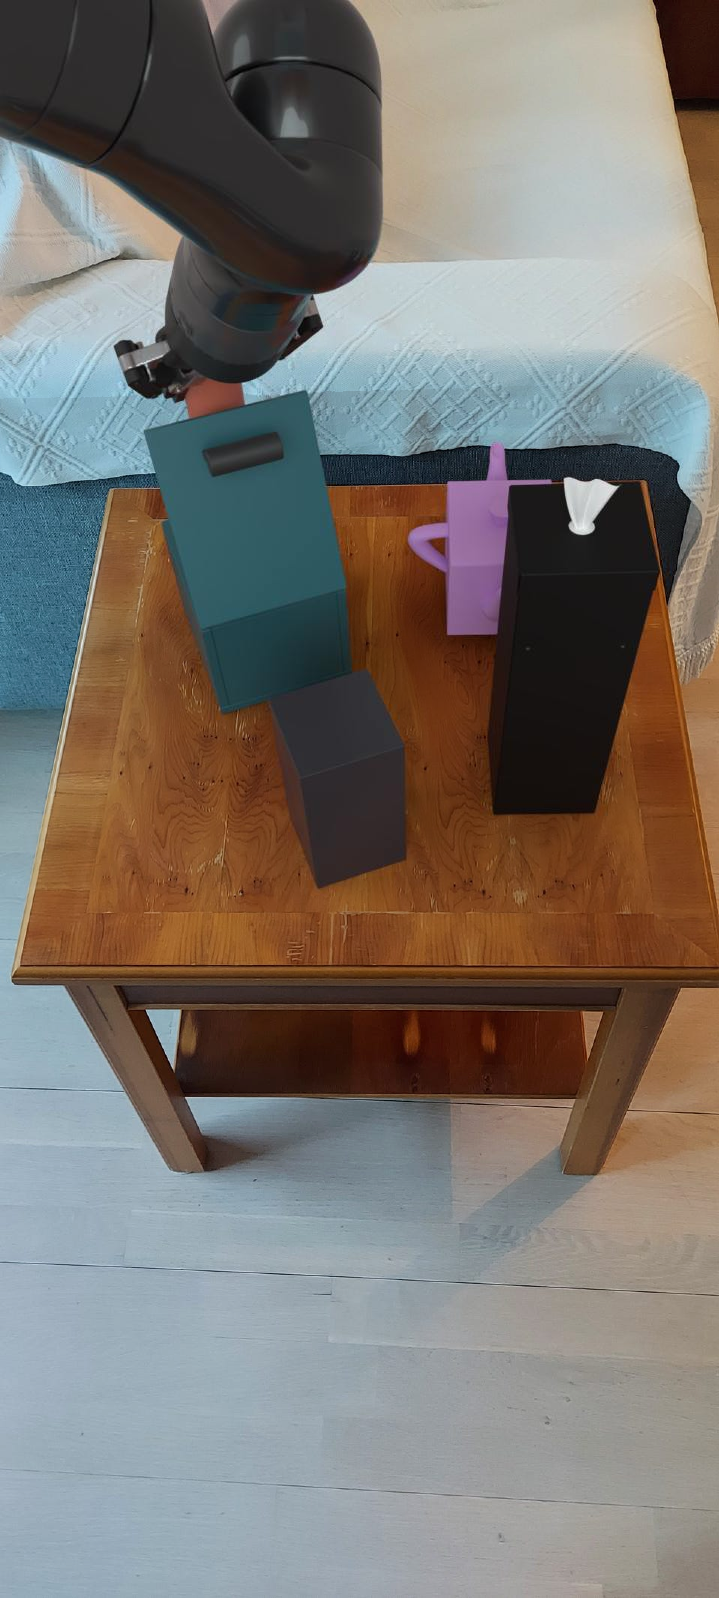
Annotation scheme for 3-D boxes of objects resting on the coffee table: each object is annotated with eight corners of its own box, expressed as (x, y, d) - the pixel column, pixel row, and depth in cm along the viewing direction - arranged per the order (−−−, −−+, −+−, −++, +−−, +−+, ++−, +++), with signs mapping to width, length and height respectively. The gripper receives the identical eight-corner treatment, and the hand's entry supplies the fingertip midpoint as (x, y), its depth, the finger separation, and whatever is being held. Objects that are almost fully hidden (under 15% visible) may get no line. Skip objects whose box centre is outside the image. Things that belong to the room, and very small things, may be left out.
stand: (317, 889, 74) (299, 778, 62) (289, 815, 77) (267, 698, 66) (406, 859, 75) (404, 745, 63) (374, 788, 78) (367, 668, 67)
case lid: (142, 429, 68) (150, 440, 64) (304, 389, 70) (322, 397, 66) (199, 626, 75) (209, 647, 71) (344, 585, 77) (362, 603, 73)
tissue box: (595, 815, 76) (673, 524, 53) (491, 817, 76) (524, 528, 53) (583, 734, 80) (650, 432, 57) (485, 736, 81) (513, 437, 58)
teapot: (610, 612, 88) (632, 513, 79) (500, 689, 84) (509, 594, 75) (490, 526, 95) (498, 427, 86) (382, 593, 91) (379, 495, 82)
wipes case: (183, 606, 91) (160, 521, 83) (304, 572, 93) (293, 485, 85) (221, 714, 83) (201, 632, 75) (352, 675, 85) (346, 591, 77)
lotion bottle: (203, 468, 74) (181, 363, 67) (189, 436, 76) (167, 331, 69) (257, 454, 75) (241, 349, 68) (242, 423, 77) (225, 317, 70)
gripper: (331, 192, 57) (276, 300, 73) (91, 257, 54) (90, 353, 71) (373, 326, 59) (311, 402, 75) (142, 396, 56) (130, 459, 72)
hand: (204, 378), depth 73 cm, fingers closed on lotion bottle, 4 cm apart
